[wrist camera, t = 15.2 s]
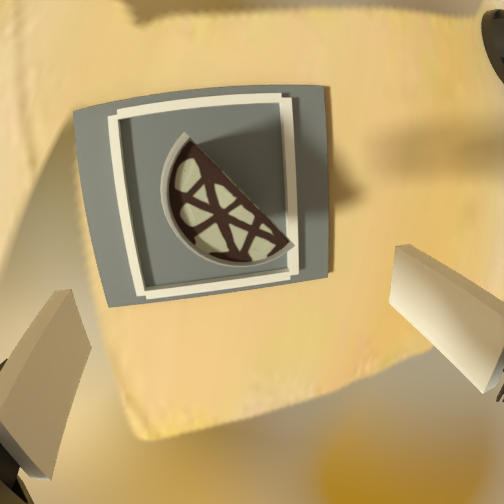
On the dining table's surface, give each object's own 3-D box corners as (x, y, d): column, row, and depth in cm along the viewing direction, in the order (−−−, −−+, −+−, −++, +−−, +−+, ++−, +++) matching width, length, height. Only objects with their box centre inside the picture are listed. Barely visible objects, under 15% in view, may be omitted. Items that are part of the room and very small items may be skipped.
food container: (142, 178, 30) (121, 195, 21) (186, 133, 29) (183, 130, 20) (227, 258, 34) (242, 303, 25) (269, 218, 34) (299, 250, 25)
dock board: (319, 87, 31) (327, 84, 29) (324, 274, 39) (331, 280, 37) (76, 111, 27) (69, 110, 25) (110, 303, 35) (106, 311, 33)
